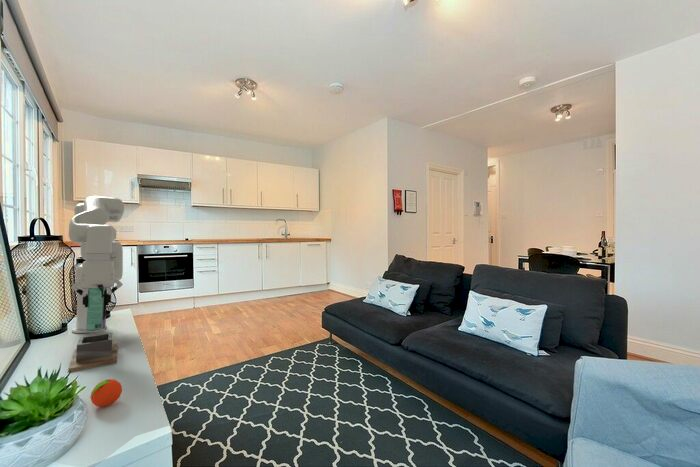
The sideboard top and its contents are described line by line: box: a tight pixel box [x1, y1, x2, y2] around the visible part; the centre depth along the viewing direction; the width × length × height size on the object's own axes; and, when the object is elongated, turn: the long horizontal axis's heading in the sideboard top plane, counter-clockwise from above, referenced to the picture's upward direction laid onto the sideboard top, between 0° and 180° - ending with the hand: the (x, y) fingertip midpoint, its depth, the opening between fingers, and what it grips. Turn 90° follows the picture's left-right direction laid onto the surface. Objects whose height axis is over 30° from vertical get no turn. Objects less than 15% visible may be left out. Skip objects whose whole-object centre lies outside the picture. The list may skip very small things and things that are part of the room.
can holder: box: [67, 332, 118, 373], centre depth 115 cm, size 20×13×7 cm, turn 37°
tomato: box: [90, 378, 123, 408], centre depth 84 cm, size 8×7×7 cm
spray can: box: [87, 284, 107, 334], centre depth 114 cm, size 6×6×20 cm
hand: (97, 305), depth 114 cm, fingers closed on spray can, 5 cm apart
